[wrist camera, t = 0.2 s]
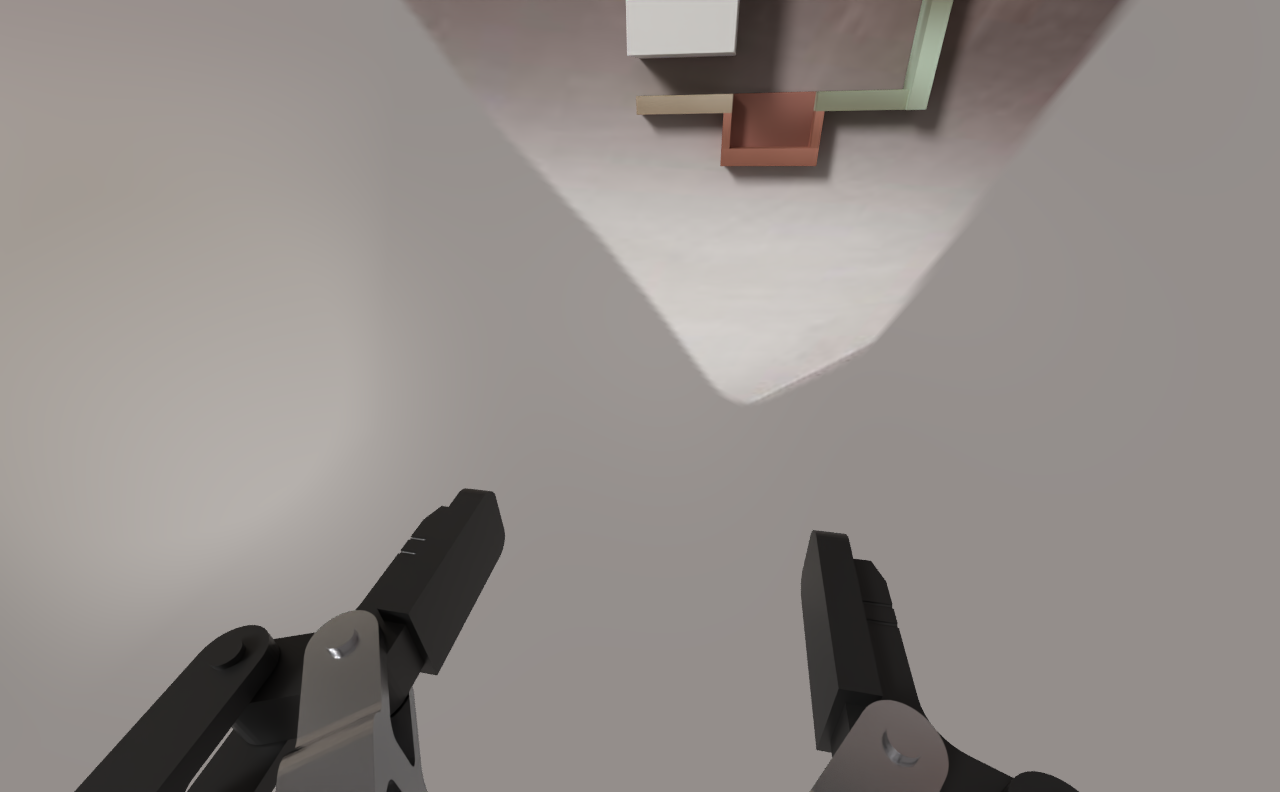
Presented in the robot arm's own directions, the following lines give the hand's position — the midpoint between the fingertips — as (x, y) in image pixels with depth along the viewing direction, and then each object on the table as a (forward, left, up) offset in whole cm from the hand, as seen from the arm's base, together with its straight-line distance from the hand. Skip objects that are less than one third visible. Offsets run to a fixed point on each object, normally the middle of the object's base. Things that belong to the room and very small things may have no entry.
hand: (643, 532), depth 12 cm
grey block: (-14, -2, -29) cm, 32 cm away
